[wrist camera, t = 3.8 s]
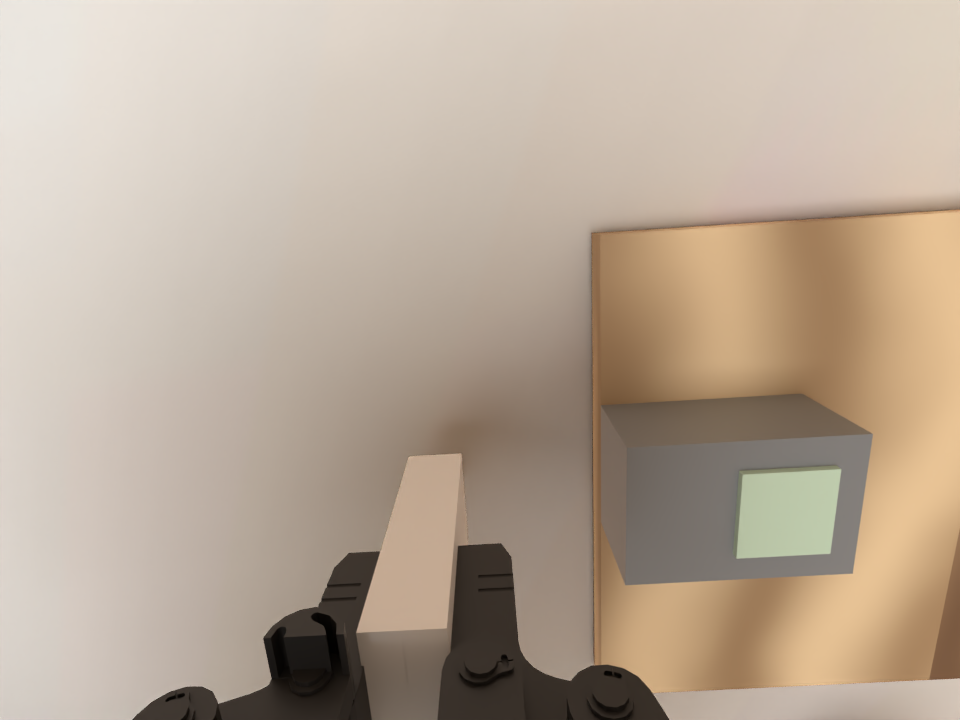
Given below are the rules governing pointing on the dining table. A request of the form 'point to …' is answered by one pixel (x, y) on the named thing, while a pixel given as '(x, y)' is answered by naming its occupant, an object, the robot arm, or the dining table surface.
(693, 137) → the dining table surface
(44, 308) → the dining table surface
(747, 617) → the board
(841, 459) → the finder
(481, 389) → the dining table surface
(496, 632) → the robot arm
